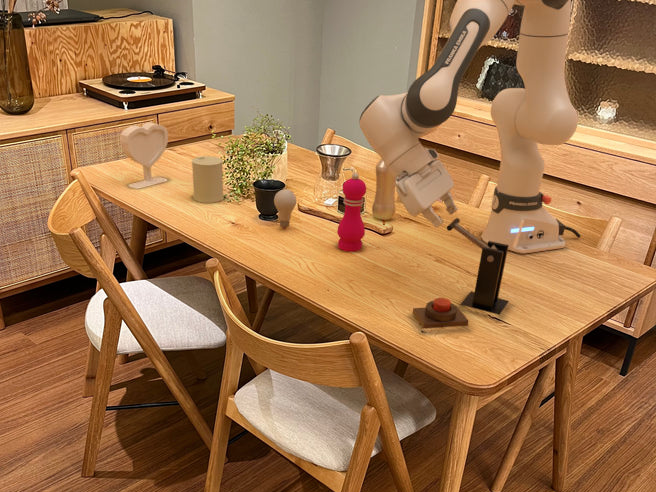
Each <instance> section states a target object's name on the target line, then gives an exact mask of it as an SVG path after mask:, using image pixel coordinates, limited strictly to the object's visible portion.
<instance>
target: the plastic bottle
mask: <svg viewBox="0 0 656 492" xmlns="http://www.w3.org/2000/svg"><path fill="white" fill-rule="evenodd" d="M375 179H376V180H375V181H376V182H375V194H374V200H373V203H372V207H371V210H372V215H373V217H374V218H376V219H377V220H383V221H389V220H391V219H393V218H394V216H395V213H396V203H395V202H396V201H395V192H396V188H397V187H396V185H395V184H396V182H395V179H394V178H393V177H392V175H391V174H390V172H389V171H388V169H387V168H386V166H385V164H384V161H383V159H382V158H381V159H380V160H379V161H378V162H377V164H376V166H375Z"/></svg>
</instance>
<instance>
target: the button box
mask: <svg viewBox="0 0 656 492" xmlns="http://www.w3.org/2000/svg"><path fill="white" fill-rule="evenodd" d="M433 304H434V300H431V301H429V302H427V303H426V305H425V307H413V308H412V314H413V316H414V317H415V318H416V321H417V322H418V323H419V324H420V326H421V327H422V329H433V328H448V327H465V326H468V325H469V319H468V318H467V317H466V315H464V313H463V312H462V311H461V310H460V308H459V307H458V306H457V305H455V304H454V303H452V302H451V306H450V311H448V312H439V311H436V310H434V309H433ZM421 333H422V334H424V333H425V334H426V333H428V331H425V330H421Z"/></svg>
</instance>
